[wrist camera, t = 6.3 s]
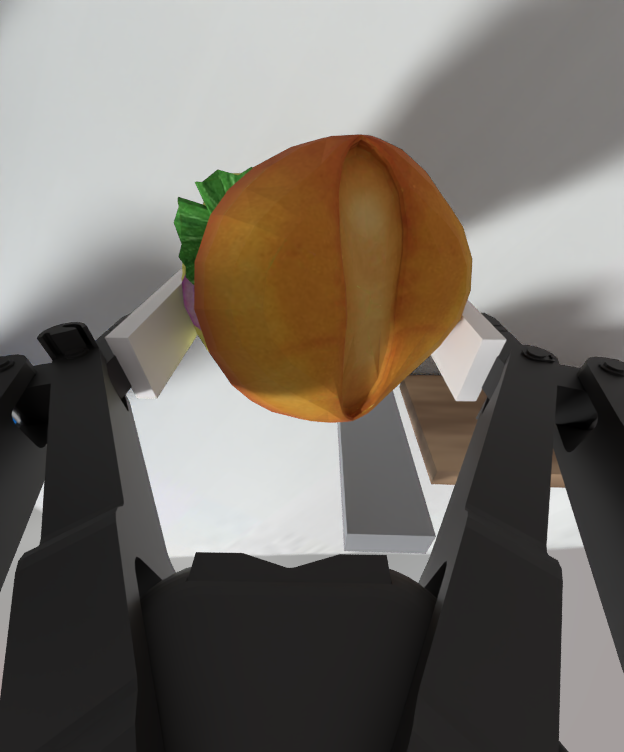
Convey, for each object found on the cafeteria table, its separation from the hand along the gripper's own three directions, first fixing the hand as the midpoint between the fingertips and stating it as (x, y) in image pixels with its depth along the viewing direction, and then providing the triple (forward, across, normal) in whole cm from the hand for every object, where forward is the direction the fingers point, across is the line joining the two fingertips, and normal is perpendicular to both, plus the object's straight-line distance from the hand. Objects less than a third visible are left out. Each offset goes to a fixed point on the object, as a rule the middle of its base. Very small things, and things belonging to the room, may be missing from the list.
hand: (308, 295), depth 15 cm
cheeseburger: (+2, -1, 0) cm, 2 cm away
